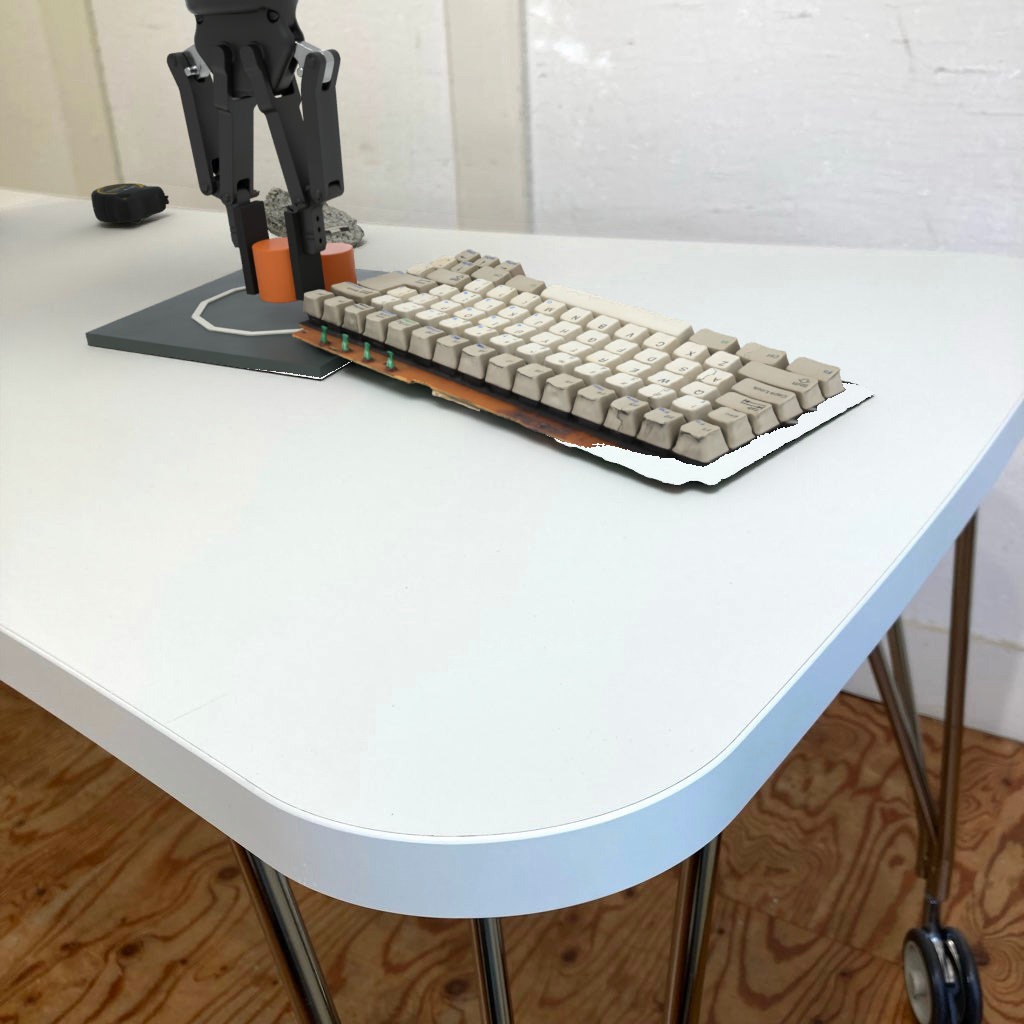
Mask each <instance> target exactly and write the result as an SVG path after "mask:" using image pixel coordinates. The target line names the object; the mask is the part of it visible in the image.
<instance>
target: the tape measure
mask: <svg viewBox="0 0 1024 1024" xmlns="http://www.w3.org/2000/svg"><path fill="white" fill-rule="evenodd" d="M90 199H91V205H92V210H93V213H94V217H95V219H97V220H98V221H99V222H101V223H105V224H112V225H113V224H121V223H132V224H140V223H142V220H144V219H147V218H149V217H152V216H154V215H157V214H161V213H163V212H164V211H165V210H166V208H167V205H169V204H170V200H169V195H168V194H167V195H166V193H165V191H164V189H163V188H162V187H160V186H157V185H155V186H154V185H153V186H152V185H146V184H142V183H135V182H134V183H116V184H109V185H104V186H101V187H98V188H96V189H95V190H93V191H92V192H91V194H90Z"/></svg>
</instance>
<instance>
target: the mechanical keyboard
mask: <svg viewBox="0 0 1024 1024" xmlns="http://www.w3.org/2000/svg"><path fill="white" fill-rule="evenodd" d="M390 272H391V273H388V274H383V275H380V276H377V277H373V278H369V279H366V280H362V281H359V282H358V284H357V285H356V284H353V283H351V282H342V283H339V284H334V285H332V286H331V292H327V291H325V290H315V291H311V292H306V293H304V305H303V312H304V313H307V314H308V317H309V320H306V321H302V322H300V323H299V326H300V327H301V328H303V329H302V330H300V331H297V332H295V333H293V334H292V336H293V338H297V339H299V340H302V341H304V342H306V343H309V344H311V345H313V346H315V347H319V348H321V349H323V350H326V351H329V352H330V353H333V354H335V355H338V356H340V357H343V358H345V359H348V360H350V361H353V362H352V363H355V364H358V365H360V366H362V367H366V368H368V369H370V370H373V371H375V372H377V373H379V374H382V375H384V376H387V377H390V378H392V379H396V380H397V381H401V382H404V383H406V384H408V385H412V384H413V385H414V384H420V385H422V386H426V387H429V388H430V389H431V395H432V396H433V397H438V398H442V399H444V400H447V401H450V402H451V401H452V402H454V403H456V404H459V405H462V406H464V407H466V408H469V409H471V410H475V411H477V412H480V411H481V410H482V411H485V412H488V413H491V414H493V415H495V416H498V417H500V418H501V417H502V419H504V420H509V421H511V422H515V423H517V424H519V425H521V426H522V427H524V428H526V429H527V430H529V431H532V432H533V431H534V432H533V433H537V432H538V433H539V434H542V433H543V434H542V435H544V434H545V435H544V436H546V435H548V436H550V437H552V438H556V439H558V440H560V441H562V442H567V443H571V444H576V445H578V446H580V447H581V446H584V447H585V448H587V447H589V448H591V447H596V446H597V445H592V444H597V443H599V444H603V443H604V444H605V445H604V446H606V445H610V446H615V447H619V448H622V449H625V450H627V449H628V450H630V451H632V452H637V453H641V454H645V455H652V456H659V457H660V459H661V458H675V459H676V460H679V461H681V462H683V463H686V464H692V465H696V466H702V467H704V466H707V465H709V464H710V463H713V462H715V461H716V460H718V459H719V458H720V457H722V456H724V455H725V454H729V453H731V452H734V451H735V450H738V449H739V448H740V447H741V448H742V447H744V446H746V445H748V444H750V442H751V441H752V440H754V439H757V436H759V437H760V435H764V434H765V433H769V434H770V433H771V432H773V431H774V430H775V431H776V430H777V428H778V429H780V428H783V427H785V428H787V427H790V426H794V425H796V424H798V420H797V419H798V418H799V417H800V416H801V415H802V414H805V413H808V412H809V413H810V412H814V411H817V406H818V405H819V404H821V403H823V402H824V401H826V400H827V399H828V398H832V397H834V396H836V395H838V394H840V393H842V392H844V391H845V390H846V389H845V388H844V387H843V384H842V383H847V384H848V383H850V384H856V385H859V384H858V383H854V382H852V383H851V381H845V380H842V378H841V368H840V367H839V366H836V365H831V364H828V363H823V362H820V361H818V360H815V359H811V358H808V357H805V356H799V357H797V358H795V359H794V360H793V361H792V362H789V358H788V355H787V351H785V350H781V349H776V348H771V347H768V346H765V345H762V344H760V343H756V342H752V341H751V342H747V343H745V344H744V345H743V346H740V342H739V340H738V338H737V337H735V336H732V335H727V334H724V333H720V332H718V331H717V332H716V331H714V330H711V329H709V328H701V329H699V330H698V331H696V333H695V331H694V328H693V325H692V324H691V323H690V322H689V321H685V320H681V319H677V318H674V317H671V316H668V315H664V314H661V313H658V312H654V311H651V310H648V309H644V308H639V307H638V306H637V307H636V306H634V305H630V304H626V303H623V302H619V301H617V300H614V299H610V298H606V297H603V296H599V295H596V294H592V293H590V292H586V291H582V290H578V289H575V288H571V287H567V286H563V285H560V284H551V285H549V286H548V287H547V285H546V283H545V281H544V280H539V279H535V278H531V277H528V276H527V275H526V272H525V270H524V268H523V266H522V263H521V262H517V261H514V260H510V259H507V260H505V261H503V262H501V260H500V258H499V257H498V256H493V255H489V254H486V255H483V256H482V255H481V253H480V252H478V251H475V250H472V249H471V248H467V249H465V250H463V251H461V252H459V253H458V254H456V255H455V256H454V257H452V256H451V257H450V256H448V255H442V256H440V257H438V258H437V259H436V260H433V261H432V262H430V264H427V263H424V262H419V263H417V264H415V265H413V266H411V267H409V268H408V269H407V270H406V272H404V271H401V270H394V271H390ZM334 350H336V351H334ZM598 446H600V447H602V445H598Z"/></svg>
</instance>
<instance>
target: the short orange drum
mask: <svg viewBox="0 0 1024 1024" xmlns="http://www.w3.org/2000/svg"><path fill="white" fill-rule="evenodd" d="M321 260H322V267H323V275H324V283H325V290H326V291H327V292H331V286H332V285H334V284H339V283H342V282H351V283H353V284H356V285H357V276H356V269H357V268H356V259H355V250H354V246H352V245H350V244H346V243H327V244H326V249H325V250H323V251H321Z"/></svg>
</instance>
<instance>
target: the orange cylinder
mask: <svg viewBox="0 0 1024 1024" xmlns="http://www.w3.org/2000/svg"><path fill="white" fill-rule="evenodd" d="M252 250H253V256H254V263H255V269H256V275H257V281H258V288H259V294H260V298H261V300H263V301H265V302H270V303H288V302H295V301H299V300H296V294H295V287H294V280H293V273H292V266H291V260H290V253H289V246H288V239H287V237H271V238H269V239H266V240H262V241H259V242H257V243H255V244H253V246H252Z"/></svg>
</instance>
